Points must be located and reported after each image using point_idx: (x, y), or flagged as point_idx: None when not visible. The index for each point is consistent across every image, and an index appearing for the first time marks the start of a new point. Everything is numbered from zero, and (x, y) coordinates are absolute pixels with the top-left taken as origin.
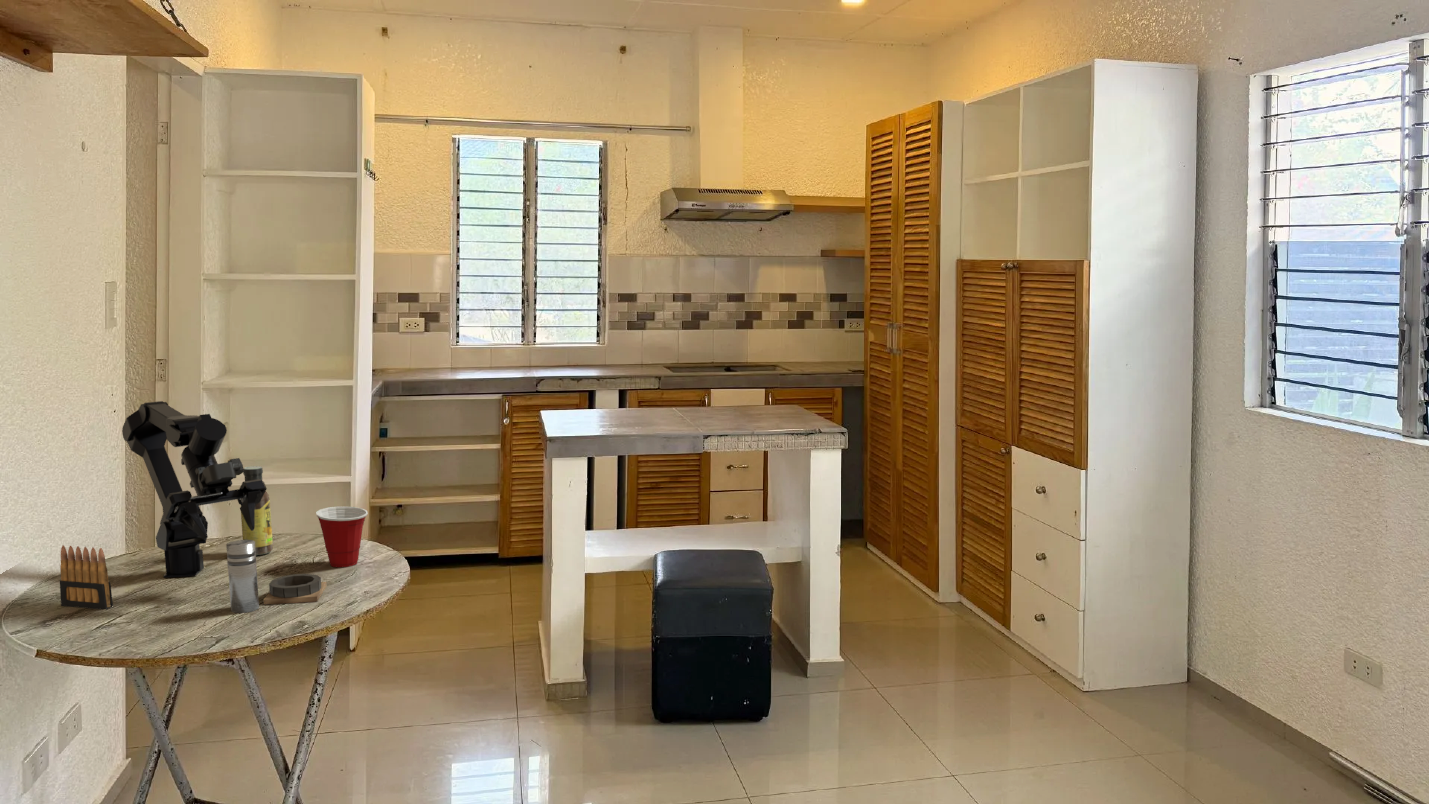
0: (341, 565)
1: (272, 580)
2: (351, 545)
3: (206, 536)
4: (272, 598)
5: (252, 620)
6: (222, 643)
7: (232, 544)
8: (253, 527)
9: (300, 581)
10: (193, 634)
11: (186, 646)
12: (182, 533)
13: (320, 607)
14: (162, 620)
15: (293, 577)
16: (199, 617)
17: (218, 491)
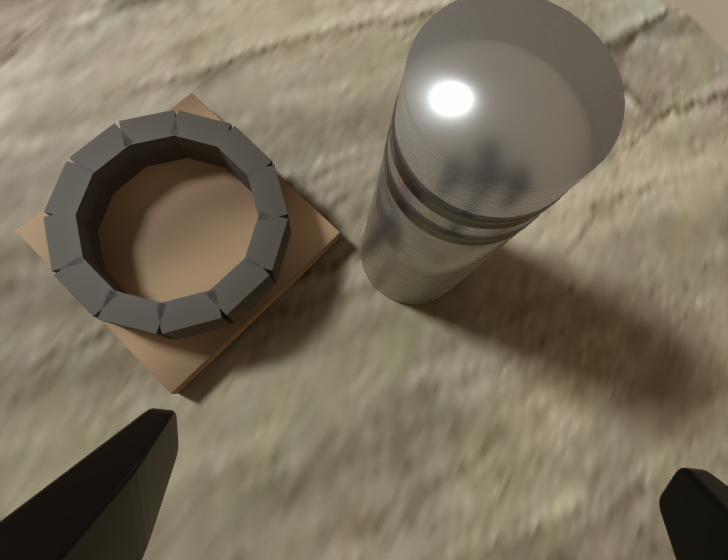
0: None
1: (226, 309)
2: None
3: (697, 469)
4: (310, 214)
5: None
6: (624, 16)
7: (581, 102)
8: (160, 412)
9: (107, 277)
10: (656, 154)
11: (709, 76)
12: None
13: (237, 46)
14: (681, 388)
15: (120, 293)
16: (572, 303)
17: None
